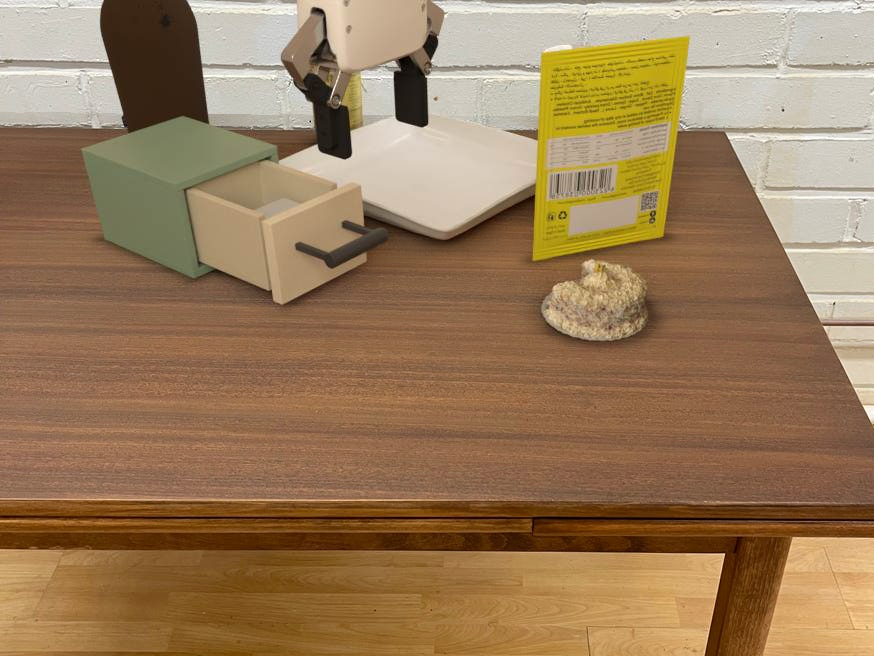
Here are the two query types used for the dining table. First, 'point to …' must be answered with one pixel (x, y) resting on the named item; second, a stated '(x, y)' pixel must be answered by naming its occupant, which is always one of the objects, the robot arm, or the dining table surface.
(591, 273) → the cake
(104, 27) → the rounded brown slab
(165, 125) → the cabinet
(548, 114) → the food package
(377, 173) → the square plate
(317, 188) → the drawer
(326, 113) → the robot arm
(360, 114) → the sauce bottle
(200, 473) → the dining table surface
